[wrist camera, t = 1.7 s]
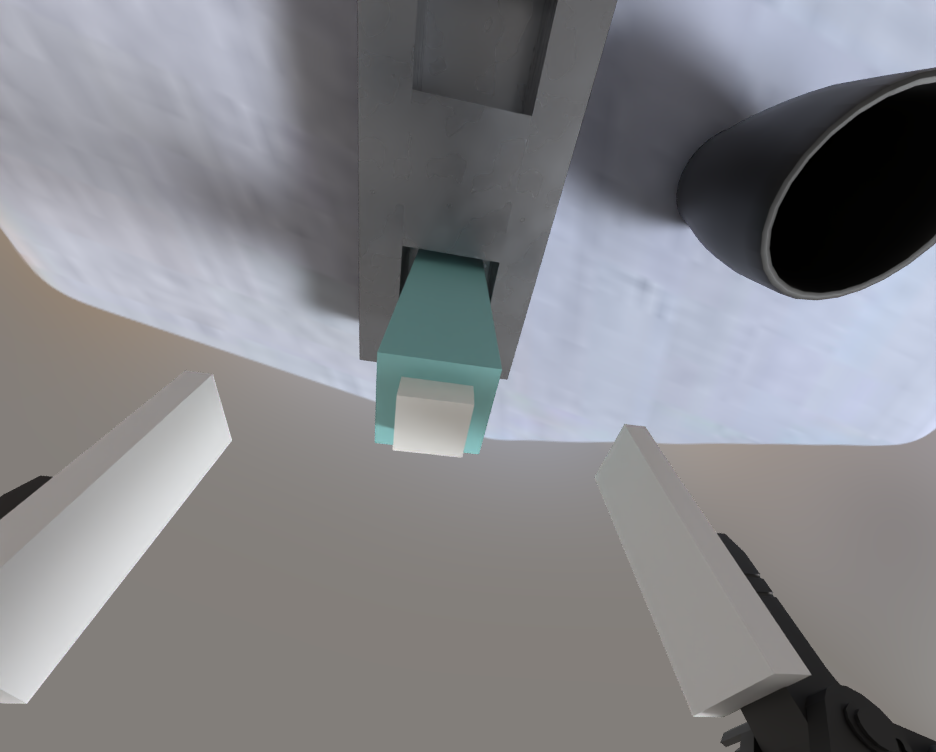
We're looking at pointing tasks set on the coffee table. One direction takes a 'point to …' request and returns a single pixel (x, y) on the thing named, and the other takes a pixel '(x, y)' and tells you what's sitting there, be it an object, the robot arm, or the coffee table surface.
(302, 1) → the coffee table surface
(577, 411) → the coffee table surface
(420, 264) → the plug
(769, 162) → the mug
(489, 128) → the socket panel
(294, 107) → the coffee table surface
